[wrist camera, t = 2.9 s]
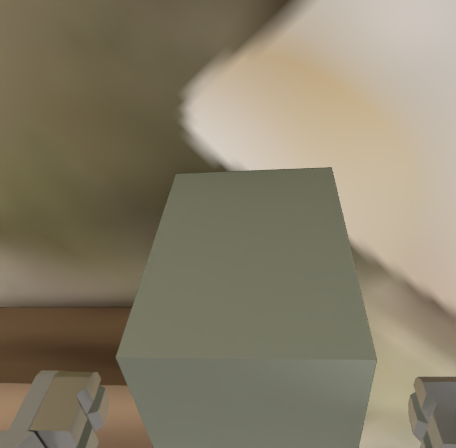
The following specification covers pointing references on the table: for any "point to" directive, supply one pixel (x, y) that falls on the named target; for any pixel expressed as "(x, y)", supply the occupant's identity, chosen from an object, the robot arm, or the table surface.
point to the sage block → (250, 317)
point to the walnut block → (69, 362)
